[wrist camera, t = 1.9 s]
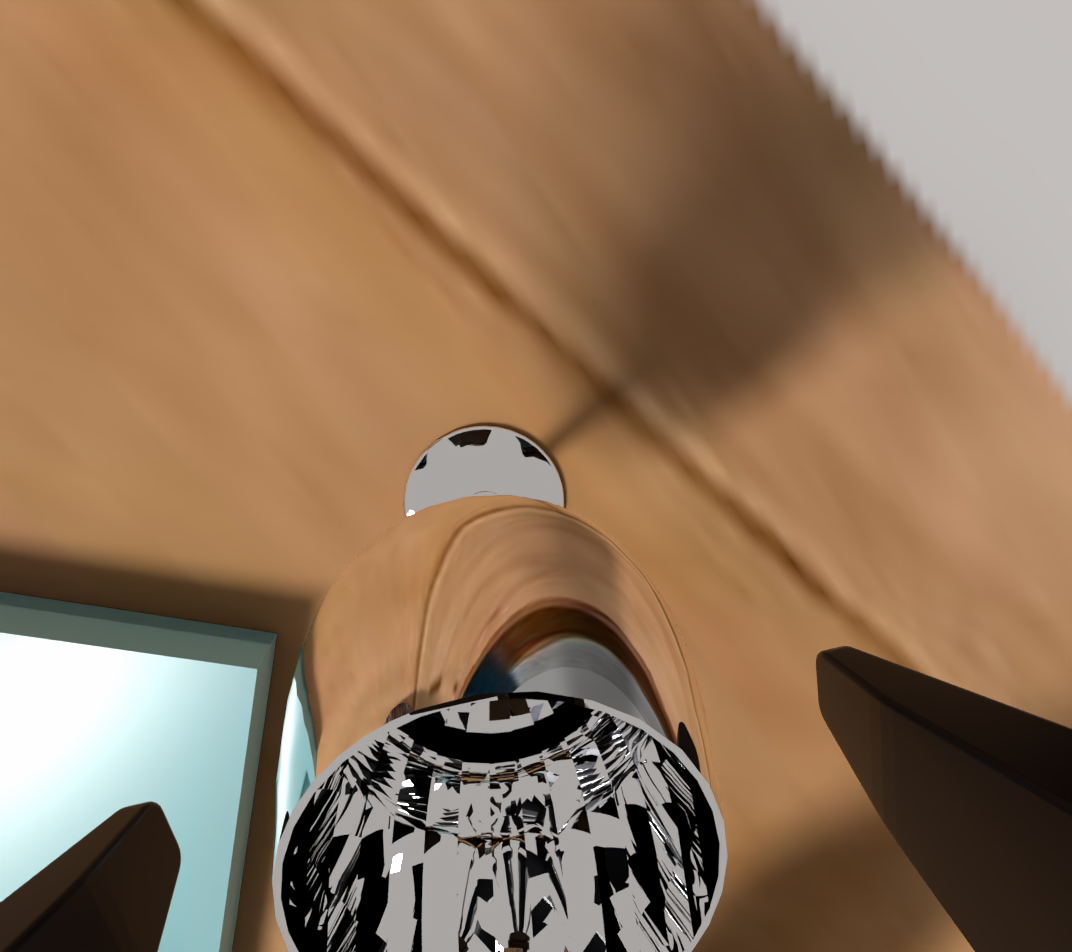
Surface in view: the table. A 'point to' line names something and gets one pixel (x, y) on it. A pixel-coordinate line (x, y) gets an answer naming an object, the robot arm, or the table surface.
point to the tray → (132, 744)
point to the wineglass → (495, 734)
